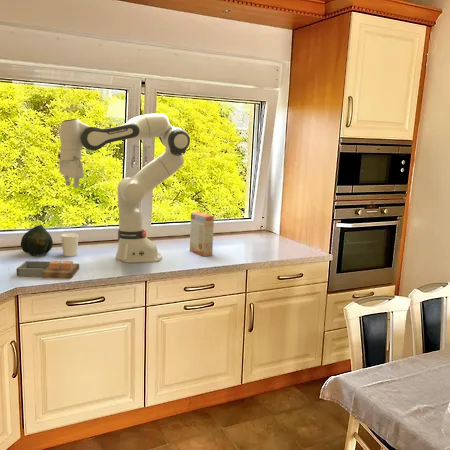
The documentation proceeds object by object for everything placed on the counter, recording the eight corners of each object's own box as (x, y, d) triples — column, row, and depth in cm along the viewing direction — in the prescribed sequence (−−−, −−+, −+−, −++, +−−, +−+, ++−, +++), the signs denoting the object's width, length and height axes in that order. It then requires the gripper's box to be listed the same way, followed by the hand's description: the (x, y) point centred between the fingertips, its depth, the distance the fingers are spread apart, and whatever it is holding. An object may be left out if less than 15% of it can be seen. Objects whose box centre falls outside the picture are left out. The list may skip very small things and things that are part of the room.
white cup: (81, 254, 241) (81, 234, 239) (70, 257, 234) (70, 237, 232) (69, 251, 244) (69, 232, 242) (58, 255, 237) (57, 235, 235)
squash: (15, 248, 226) (37, 223, 228) (15, 242, 240) (35, 219, 242) (40, 265, 232) (61, 241, 234) (38, 259, 245) (58, 236, 248)
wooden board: (79, 268, 216) (79, 263, 216) (71, 278, 202) (71, 272, 202) (52, 268, 215) (51, 263, 215) (42, 277, 202) (42, 272, 201)
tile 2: (72, 266, 211) (72, 261, 210) (70, 269, 207) (70, 263, 206) (63, 266, 210) (63, 260, 210) (61, 269, 206) (61, 263, 206)
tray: (51, 269, 214) (51, 261, 214) (43, 277, 203) (42, 269, 202) (26, 268, 213) (26, 260, 213) (16, 276, 202) (16, 268, 201)
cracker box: (213, 255, 248) (214, 215, 244) (203, 257, 245) (204, 216, 241) (199, 249, 259) (200, 211, 255) (189, 250, 256) (190, 212, 252)
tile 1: (61, 266, 210) (61, 260, 210) (58, 269, 206) (58, 263, 206) (52, 266, 210) (51, 260, 210) (49, 268, 206) (49, 263, 206)
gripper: (86, 157, 210) (87, 188, 212) (69, 154, 225) (70, 183, 228) (72, 157, 206) (73, 189, 209) (56, 154, 222) (57, 184, 224)
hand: (71, 186), depth 219 cm, fingers open, 8 cm apart
